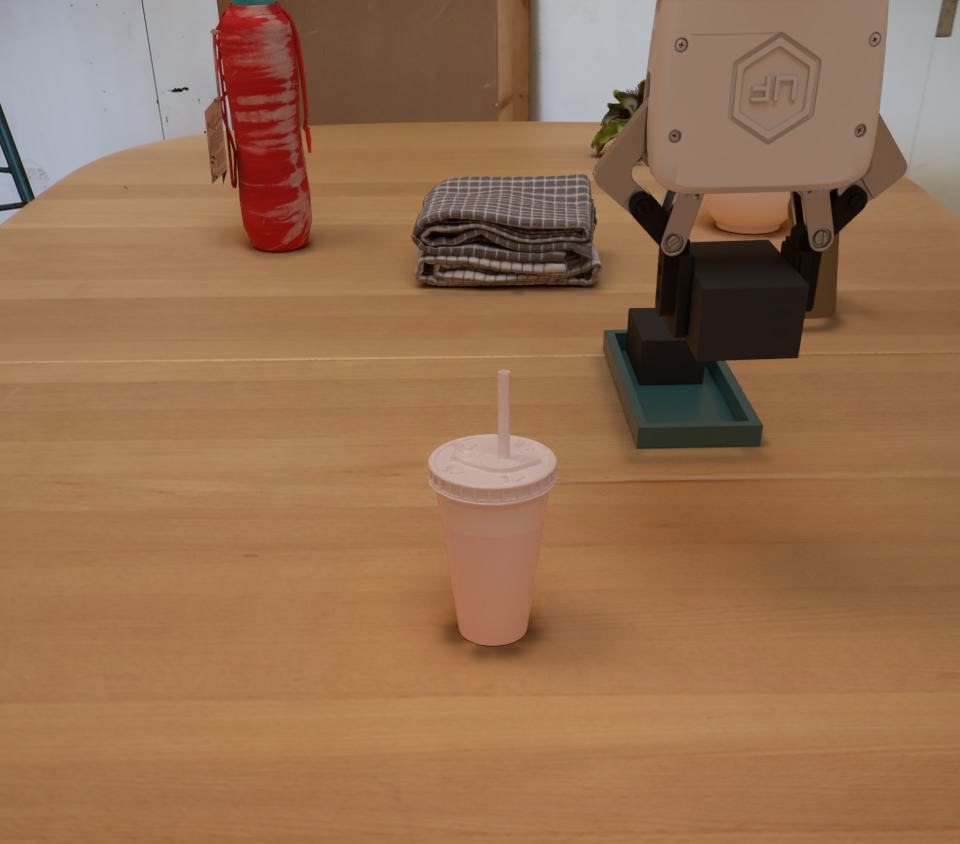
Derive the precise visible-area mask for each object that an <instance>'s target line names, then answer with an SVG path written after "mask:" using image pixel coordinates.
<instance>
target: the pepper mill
mask: <svg viewBox="0 0 960 844" xmlns="http://www.w3.org/2000/svg"><path fill="white" fill-rule="evenodd" d="M831 190H832V189H829V192H830V191H831ZM788 217H789V218H788V219H789V221H790V223H791V226H790V230H789V234H788V236H790V235H791V228H792V227H794V219H793V212H792V204H791V197H790V199H789V202H788ZM839 249H840V232H839V233H837V234H836V235H835V236H834V240H833V243H832V244H831V246H830V247H829V248H828V249H826V250H824V251H822V256H821V262H820V268H819V275H818V281H817V288H816V294H815V300H814V306H813V309H812V311H811V312H805V318H804V320H813V319H815V320H816V319H822V318H823V319H825V318H828V317H831V316H833V315H835V314H836V312H837V311H836V310H837V295H838V294H837V290H838V272H839V271H838V269H839Z"/></svg>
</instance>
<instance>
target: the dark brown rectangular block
mask: <svg viewBox="0 0 960 844" xmlns="http://www.w3.org/2000/svg"><path fill="white" fill-rule="evenodd" d="M626 330H627V339H626V352H627V354H628V357H629V360H630V362H631V365H632V368H633V370H634V373H635V375H636V378H637V381H638V383H639V385H674V384H703V378H704V369H705V361H701V362H698V361H696V359H695V357H694V355H693V353H692V351H691V350H690V348H689V346H688V344H687V342H686V340H685V338H673V336H672V334H671V332H670V330H669V328H668V326H667V324H666V322H665V316H662V317H658V316H657V314H656V310H655V307H628V313H627V327H626Z"/></svg>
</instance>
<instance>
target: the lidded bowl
mask: <svg viewBox="0 0 960 844" xmlns="http://www.w3.org/2000/svg"><path fill="white" fill-rule="evenodd" d="M789 199H790V192H759V193H725V194H704V197H703V199H702V203H703V205H704V208H705V210H706V211H707V213H708V214H709V216H710V217H711V218H712V219H713V220H714V221H715V227H716V228H718V229H720V230H722V231H726V232H730V233H734V234H745V235H759V234H761V235H762V234H769V233H774V232H777V231H778V230H779V229H780V228H781V224H783V223H784V222H785V221H787V220H788V219H789V217H788V202H789Z"/></svg>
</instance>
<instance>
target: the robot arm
mask: <svg viewBox="0 0 960 844" xmlns="http://www.w3.org/2000/svg"><path fill="white" fill-rule="evenodd" d="M889 5H890V0H656V2H655V9H654V15H653V22H652V23H653V24H652V29H651V34H650V35H651V37H650V42H649V51H648V58H647V67H646V75H645V79H646V82H645V91H644V99H643V103H642V104H641V105H640V107H639V108H638V109H637V111H636V112H635V113H634V115H633V116H632V117H631V119H630V120H629V121H628V123H627V124H626V125H625V127H624V128H623V129H622V131H621V132H620V133H619V135H618V136H617V137H615V138H614V139H613V141H612V142H611V144H610V145H609V146H608V147H607V149H606V150H605V151H604V153H603V154H602V156H601V157H600V158H599V160H598V161H597V162H596V163H595V165H594V167H593V168H592V177H593V180H594V182H595V184H596V185H597V186H598V188H599V189H601V190H602V191H603V192H604V193H605V194H607V196H609V197H610V198H611V199H612V200H613V201H614V202H615V203H617V205H619V206H620V207H621V208H623V209H624V210H625V211H626V212H627V213H629V214H630V215H631V216H632V218H633V219H634V220H635V221H636V222H637V223H638V225H640V227H641V228H642V229H643V230H644V231H645V232H646V233H647V234H648V236H649V237H650V238H651V239H652V240H653V241H654V242H655V243H656V244H657V246H658V256H657V270H656V282H655V283H656V284H655V297H654V302H655V303H654V308H655V310H656V314H657V316H658V317H662V316H665V322H666V324H667V326H668V328H669V330H670V332H671V334H672V336H673V338H684V337H685V335H687V334H688V327H689V316H690V305H691V294H692V283H693V274H694V271H695V257H694V256H693V254H692V253H691V251H690V250H689V249H690V242H691V239H690V235H691V233H692V230H693V227H694V224H695V221H696V218H697V217H698V214H699V211H700V208H701V205H702V203H703V201H702V199H703V197H704V194H725V193H759V192H790V197H791V204H792V212H793V219H794V227H792V228H791V227H790V230H791V235H790V236H789V235H785V237H784V238H785V239H784V240H782V242H781V244H780V251H779V252H780V253H781V254H782V255H783V256H784V258H785V259H786V260H787V261H788V262H789V263H790V264H791V265H792V267H793V268H794V269H795V270H796V271H797V272H798V273H799V274H800V275H801V277H802V278H803V279H804V280H805V281H806V282H807V283H808V284H809V291H808V298H807V304H806V311H805V312H811V311H812V309H813V306H814V300H815V294H816V288H817V281H818V275H819V268H820V262H821V256H822V251H824V250H826V249H828V248H829V247H830V246H831V244H832V243H833V240H834V236H835V235H836V234H837V233H839V234H840V232H841V231H842V230H843V229H844V228H845V227H846V226H847V225H849V223H850V222H851V221H853V220H854V219H855V218H856V217H857V216H858V215H859V214H860V213H861V212H862V211H864V209H865V208H866V206H867V204H869V202H870V201H872V200H875V199H877V198H878V197H879V196H880V195H881V194H882V193H884V192H885V191H886V190H888V189H889V188H890V187H892V186H894V184H895V183H897V182H898V181H900V180H901V179H902V178H903V177H904V176H905V174H906V173H907V171H908V163H907V160H906V158H905V156H904V155H903V152H902V150H901V149H900V147H899V146H898V144H897V142H896V141H895V139H894V137H893V135H892V133H891V132H890V129H889V128H888V126H887V124H886V123H885V121H884V119H883V117H882V115H881V113H880V109H881V101H882V100H881V99H882V91H883V83H884V71H885V60H886V50H887V49H886V48H887V35H888V25H889V23H888V22H889ZM640 159H641V160H642V162H643V164H644V165H645V166H646V167H647V168H648V169H649V172H650V175H651V176H652V177H653V178H654V180H655V181H656V183H658V184H659V185H660V186H661V187H663V188H665V190H664V192H663V195H662V198H661V202H660V203H659V201H658V200H657V199H656V198H655V197H654V195H652V193H651V192H650V191H649V190H648V189H647V188H646V187H644V186H643V185H642V184H641V183H640V182H639V181H638V180H636V178H634V177H633V169H634V168H635V165H636V164H637V163H638V162H639V160H640ZM829 189H832V190H831V191H830V192H829Z"/></svg>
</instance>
